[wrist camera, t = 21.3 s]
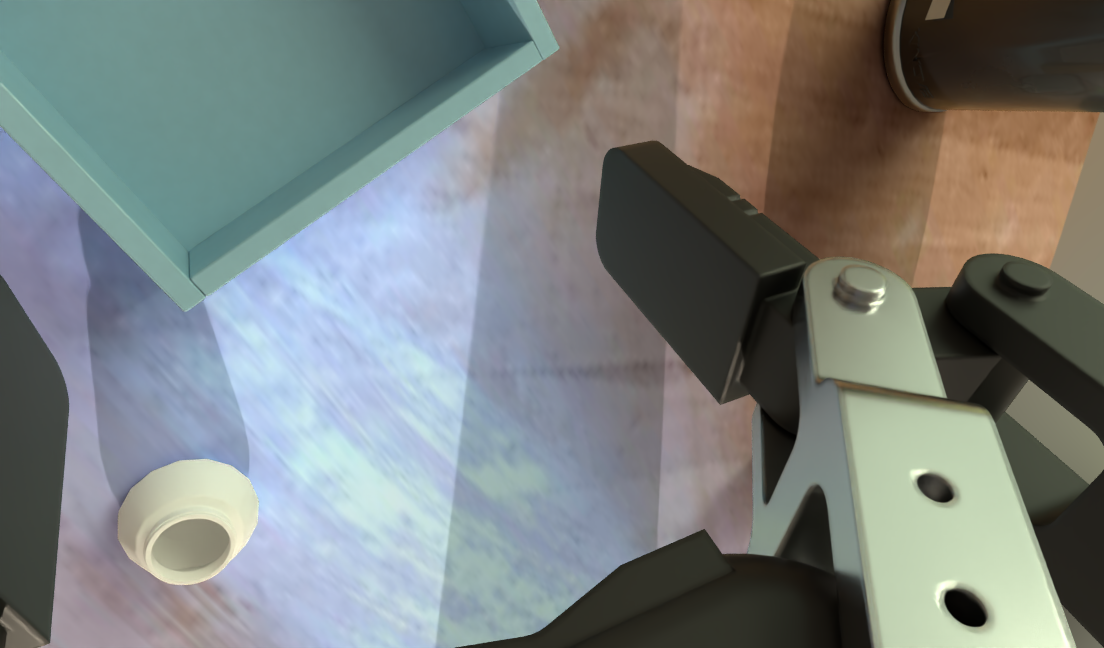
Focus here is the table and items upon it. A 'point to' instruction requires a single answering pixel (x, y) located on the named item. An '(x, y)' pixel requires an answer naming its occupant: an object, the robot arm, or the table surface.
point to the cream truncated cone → (188, 520)
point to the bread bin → (242, 110)
